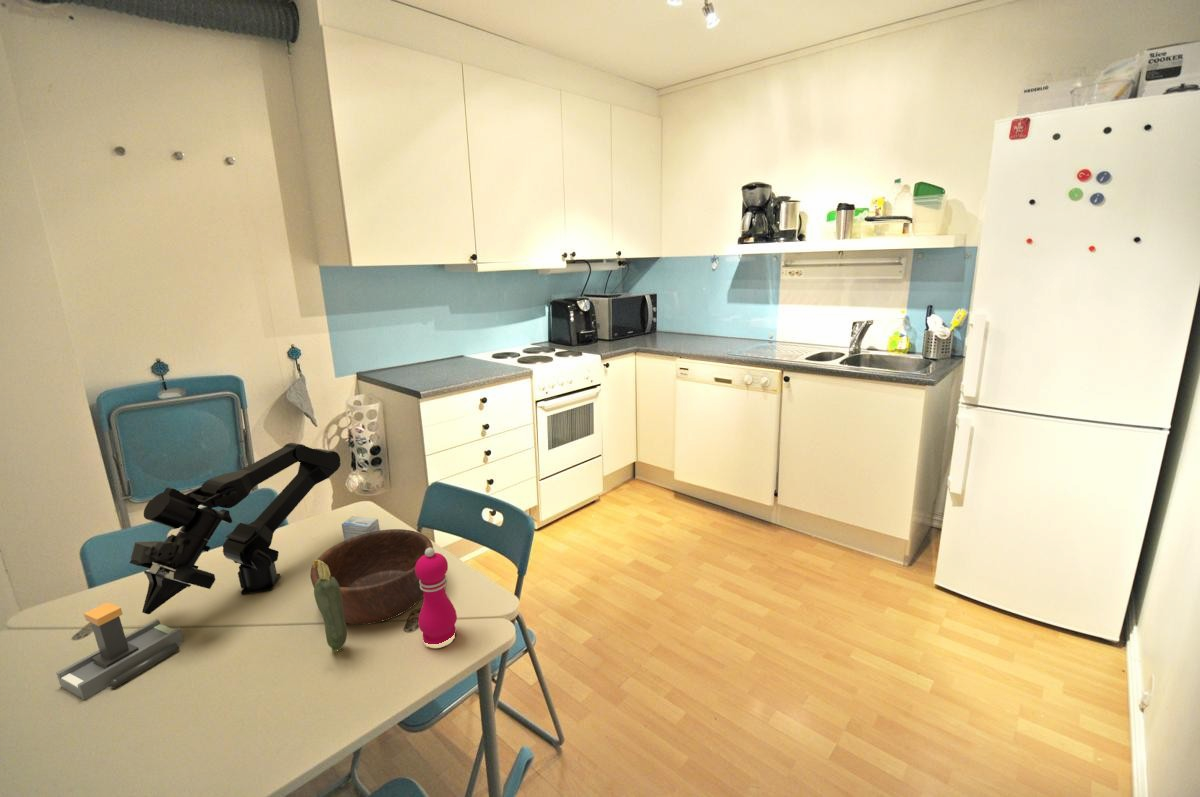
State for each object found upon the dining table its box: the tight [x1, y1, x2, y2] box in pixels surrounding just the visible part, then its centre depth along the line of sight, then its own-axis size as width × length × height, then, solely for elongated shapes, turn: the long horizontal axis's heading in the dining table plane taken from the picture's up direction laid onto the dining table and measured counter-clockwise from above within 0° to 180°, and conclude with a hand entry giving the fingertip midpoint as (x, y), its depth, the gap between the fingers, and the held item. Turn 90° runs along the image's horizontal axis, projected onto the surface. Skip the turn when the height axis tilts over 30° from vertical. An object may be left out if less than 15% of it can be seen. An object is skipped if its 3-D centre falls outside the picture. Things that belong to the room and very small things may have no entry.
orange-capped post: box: [83, 601, 139, 668], centre depth 100 cm, size 5×5×10 cm
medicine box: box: [341, 515, 381, 541], centre depth 140 cm, size 8×4×9 cm, turn 77°
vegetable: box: [312, 559, 348, 652], centre depth 102 cm, size 4×4×20 cm
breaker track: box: [56, 618, 185, 701], centre depth 103 cm, size 16×13×3 cm
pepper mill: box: [415, 547, 458, 644], centre depth 105 cm, size 7×7×20 cm
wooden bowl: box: [310, 528, 434, 625], centre depth 120 cm, size 25×25×10 cm
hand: (145, 613), depth 105 cm, fingers closed
